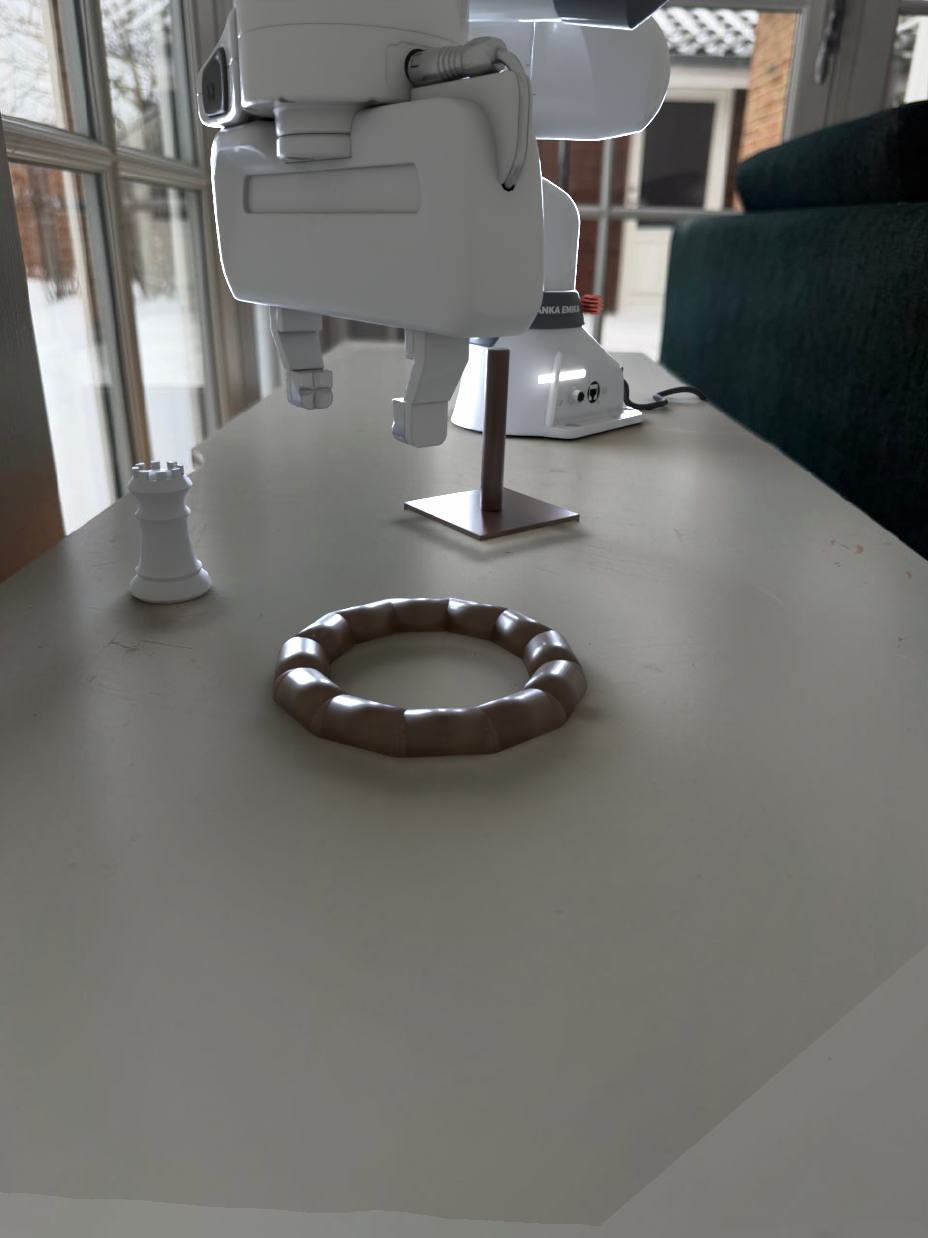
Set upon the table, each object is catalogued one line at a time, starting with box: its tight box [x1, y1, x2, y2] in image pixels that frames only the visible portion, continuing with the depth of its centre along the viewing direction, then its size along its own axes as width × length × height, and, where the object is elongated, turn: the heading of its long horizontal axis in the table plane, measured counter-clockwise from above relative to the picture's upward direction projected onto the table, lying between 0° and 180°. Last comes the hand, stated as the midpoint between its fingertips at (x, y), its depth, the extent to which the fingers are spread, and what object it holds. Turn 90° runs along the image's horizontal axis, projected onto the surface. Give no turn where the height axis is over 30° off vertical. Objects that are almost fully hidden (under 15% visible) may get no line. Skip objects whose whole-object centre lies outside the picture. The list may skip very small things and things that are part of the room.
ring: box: [272, 597, 588, 759], centre depth 40 cm, size 14×14×2 cm
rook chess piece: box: [126, 460, 213, 605], centre depth 47 cm, size 4×4×8 cm
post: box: [403, 347, 581, 542], centre depth 61 cm, size 9×9×12 cm
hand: (360, 423), depth 40 cm, fingers open, 8 cm apart
